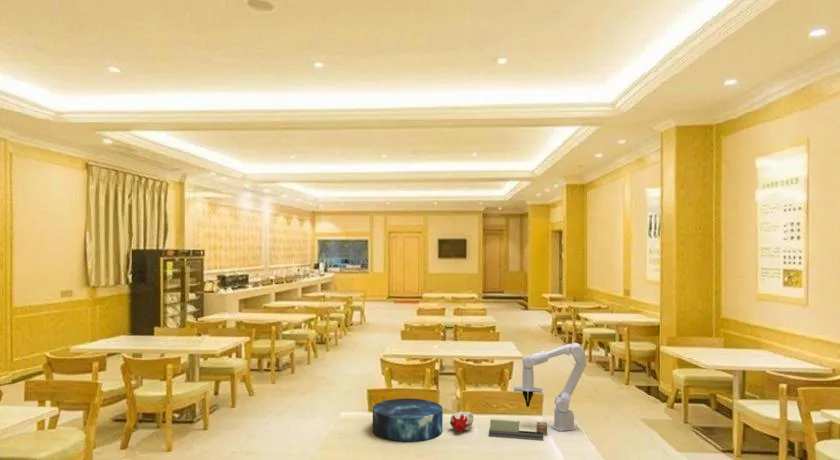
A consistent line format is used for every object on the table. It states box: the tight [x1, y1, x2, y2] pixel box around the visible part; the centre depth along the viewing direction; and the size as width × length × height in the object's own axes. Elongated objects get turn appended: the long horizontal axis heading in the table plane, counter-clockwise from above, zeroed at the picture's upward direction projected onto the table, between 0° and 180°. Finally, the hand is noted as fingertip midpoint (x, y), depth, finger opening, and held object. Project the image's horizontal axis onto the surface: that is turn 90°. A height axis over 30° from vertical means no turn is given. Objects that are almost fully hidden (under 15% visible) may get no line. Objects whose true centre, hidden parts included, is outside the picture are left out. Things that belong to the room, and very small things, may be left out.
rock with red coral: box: [449, 411, 474, 433], centre depth 288 cm, size 9×11×15 cm
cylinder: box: [372, 398, 444, 443], centre depth 288 cm, size 35×35×12 cm
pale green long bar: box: [489, 418, 520, 433], centre depth 282 cm, size 14×2×6 cm, turn 79°
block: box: [536, 421, 548, 437], centre depth 285 cm, size 5×5×5 cm
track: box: [488, 428, 544, 441], centre depth 280 cm, size 26×7×2 cm, turn 79°
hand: (527, 406), depth 296 cm, fingers closed
